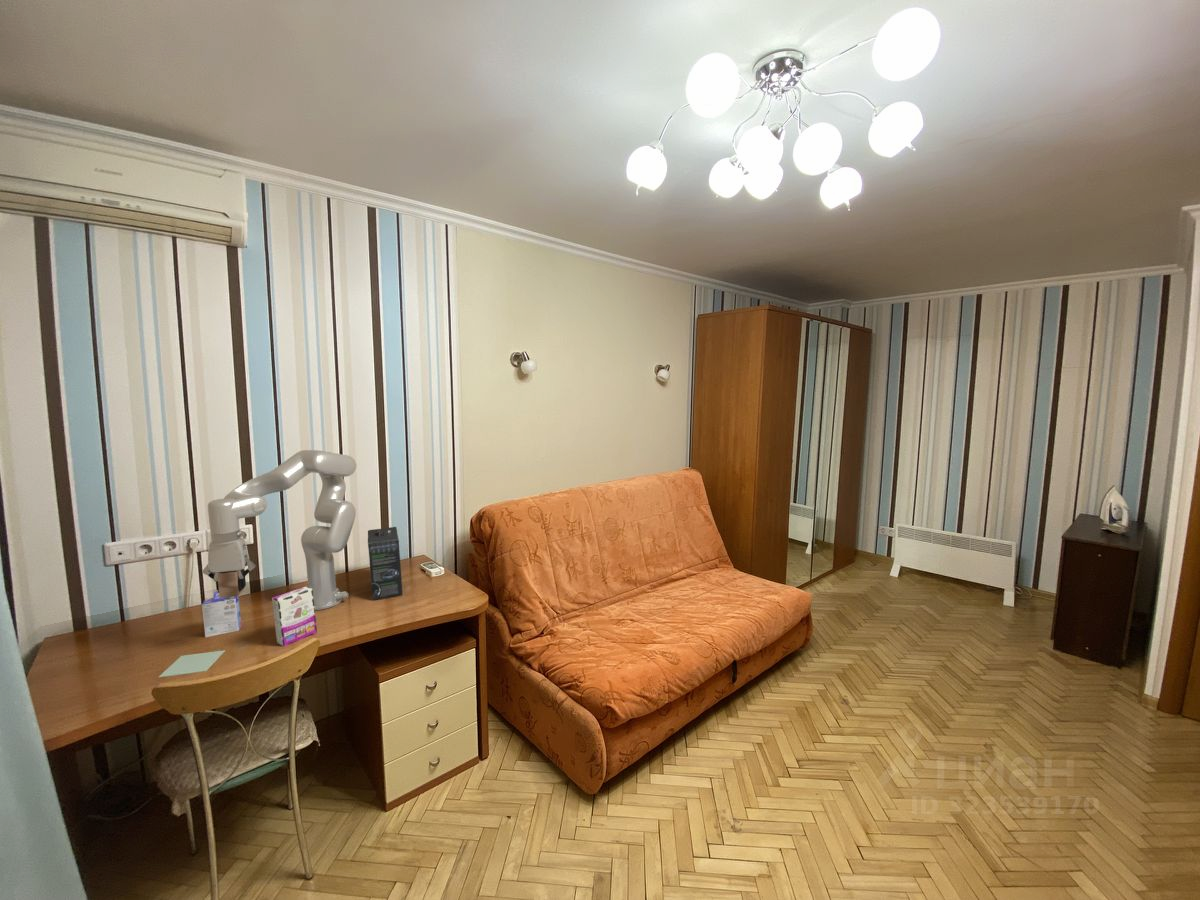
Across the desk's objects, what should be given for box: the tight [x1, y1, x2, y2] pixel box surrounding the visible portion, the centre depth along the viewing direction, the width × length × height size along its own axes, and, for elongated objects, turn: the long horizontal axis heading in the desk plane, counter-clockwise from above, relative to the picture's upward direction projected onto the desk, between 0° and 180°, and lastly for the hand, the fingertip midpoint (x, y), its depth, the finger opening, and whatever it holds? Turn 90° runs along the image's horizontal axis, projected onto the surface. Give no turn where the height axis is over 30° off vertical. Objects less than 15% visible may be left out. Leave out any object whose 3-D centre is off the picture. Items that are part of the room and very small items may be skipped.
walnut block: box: [217, 571, 245, 598], centre depth 160 cm, size 5×5×8 cm
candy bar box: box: [271, 585, 318, 647], centre depth 166 cm, size 11×5×16 cm, turn 148°
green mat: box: [158, 650, 226, 678], centre depth 151 cm, size 12×12×1 cm
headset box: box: [367, 526, 403, 601], centre depth 206 cm, size 22×12×26 cm, turn 25°
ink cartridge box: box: [201, 590, 242, 638], centre depth 171 cm, size 10×6×14 cm, turn 120°
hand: (231, 589), depth 160 cm, fingers closed on walnut block, 5 cm apart
